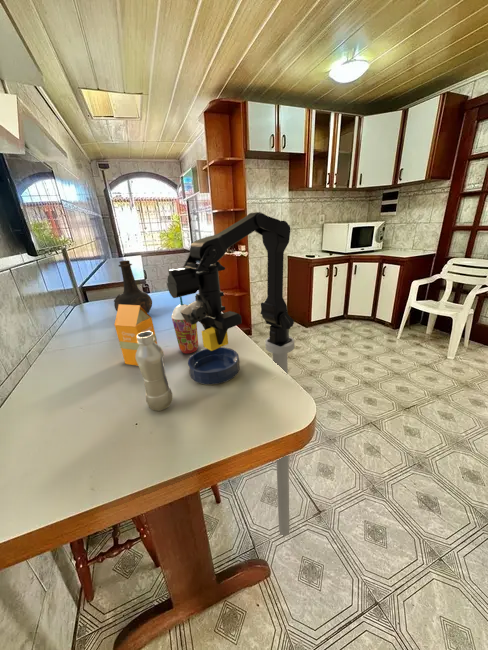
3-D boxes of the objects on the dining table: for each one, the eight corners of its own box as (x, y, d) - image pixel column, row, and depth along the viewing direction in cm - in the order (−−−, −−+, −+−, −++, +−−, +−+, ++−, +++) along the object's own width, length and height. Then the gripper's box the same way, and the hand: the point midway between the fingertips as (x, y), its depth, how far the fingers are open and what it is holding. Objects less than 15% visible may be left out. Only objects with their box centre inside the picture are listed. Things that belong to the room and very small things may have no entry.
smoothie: (173, 354, 95) (162, 300, 87) (186, 343, 102) (177, 293, 94) (193, 356, 91) (184, 301, 84) (205, 346, 99) (197, 293, 91)
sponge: (220, 339, 80) (218, 324, 79) (228, 343, 78) (226, 328, 76) (203, 346, 77) (201, 331, 75) (211, 351, 74) (209, 334, 72)
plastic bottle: (150, 417, 64) (131, 343, 57) (146, 402, 70) (128, 333, 62) (177, 408, 67) (162, 336, 59) (170, 394, 73) (156, 326, 65)
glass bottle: (121, 312, 144) (107, 260, 133) (155, 308, 147) (144, 256, 137) (114, 324, 128) (98, 265, 117) (153, 318, 131) (140, 261, 121)
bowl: (220, 354, 92) (219, 342, 90) (250, 370, 81) (249, 357, 79) (181, 372, 83) (178, 359, 81) (208, 393, 72) (206, 379, 70)
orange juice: (140, 353, 97) (127, 300, 89) (160, 355, 94) (148, 301, 86) (124, 364, 90) (109, 308, 83) (145, 367, 87) (131, 309, 80)
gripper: (165, 290, 73) (175, 342, 79) (202, 303, 60) (211, 364, 65) (200, 282, 79) (206, 330, 85) (240, 292, 66) (245, 348, 72)
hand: (215, 342), depth 77 cm, fingers closed on sponge, 4 cm apart
